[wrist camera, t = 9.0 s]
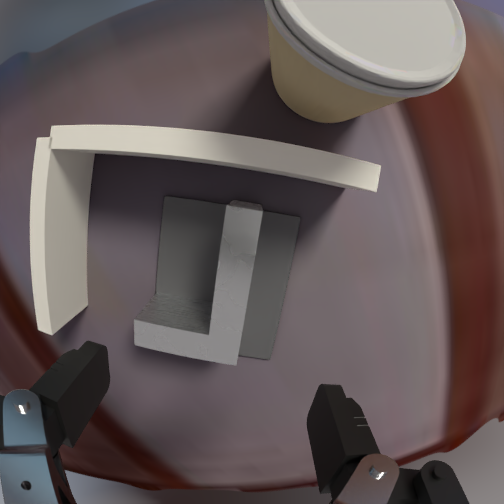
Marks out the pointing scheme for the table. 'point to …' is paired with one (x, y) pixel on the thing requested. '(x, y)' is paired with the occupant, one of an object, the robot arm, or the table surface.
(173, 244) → the mat
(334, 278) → the table surface
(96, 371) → the robot arm
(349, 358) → the table surface
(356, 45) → the coffee cup
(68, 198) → the corner wall
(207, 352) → the bracket
